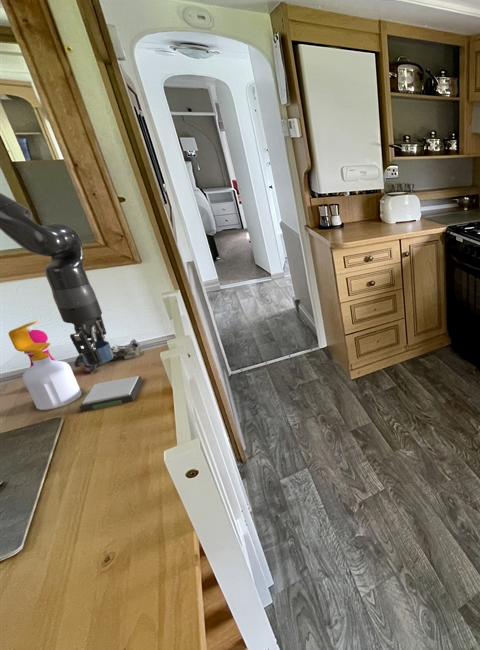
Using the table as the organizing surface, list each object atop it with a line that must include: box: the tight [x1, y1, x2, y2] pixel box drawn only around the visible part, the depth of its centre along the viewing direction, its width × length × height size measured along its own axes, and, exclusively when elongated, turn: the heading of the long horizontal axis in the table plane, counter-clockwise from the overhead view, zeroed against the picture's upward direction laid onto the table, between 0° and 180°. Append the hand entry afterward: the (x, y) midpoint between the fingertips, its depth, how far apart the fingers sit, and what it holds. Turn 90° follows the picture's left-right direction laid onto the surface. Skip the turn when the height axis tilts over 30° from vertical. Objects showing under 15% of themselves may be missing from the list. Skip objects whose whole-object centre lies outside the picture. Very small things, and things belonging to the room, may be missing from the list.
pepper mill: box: [23, 325, 57, 368], centre depth 110 cm, size 7×7×20 cm
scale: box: [79, 375, 144, 412], centre depth 109 cm, size 11×11×3 cm
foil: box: [73, 338, 141, 374], centre depth 125 cm, size 12×11×15 cm
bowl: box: [82, 340, 114, 366], centre depth 104 cm, size 6×6×4 cm
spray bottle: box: [8, 320, 82, 411], centre depth 102 cm, size 9×9×25 cm
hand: (99, 357), depth 104 cm, fingers closed on bowl, 6 cm apart
